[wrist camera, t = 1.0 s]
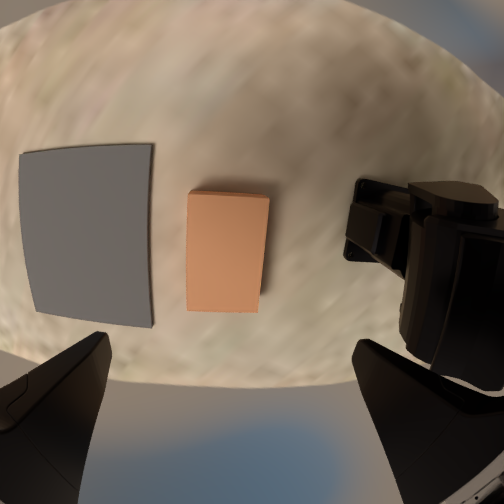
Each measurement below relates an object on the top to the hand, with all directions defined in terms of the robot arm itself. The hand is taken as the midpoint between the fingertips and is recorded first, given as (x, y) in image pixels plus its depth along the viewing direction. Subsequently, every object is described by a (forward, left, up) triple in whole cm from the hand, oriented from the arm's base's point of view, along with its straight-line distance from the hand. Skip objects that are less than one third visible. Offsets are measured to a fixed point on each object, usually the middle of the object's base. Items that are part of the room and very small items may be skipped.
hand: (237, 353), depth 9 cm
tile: (0, 0, -12) cm, 12 cm away
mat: (+12, 0, -12) cm, 16 cm away
